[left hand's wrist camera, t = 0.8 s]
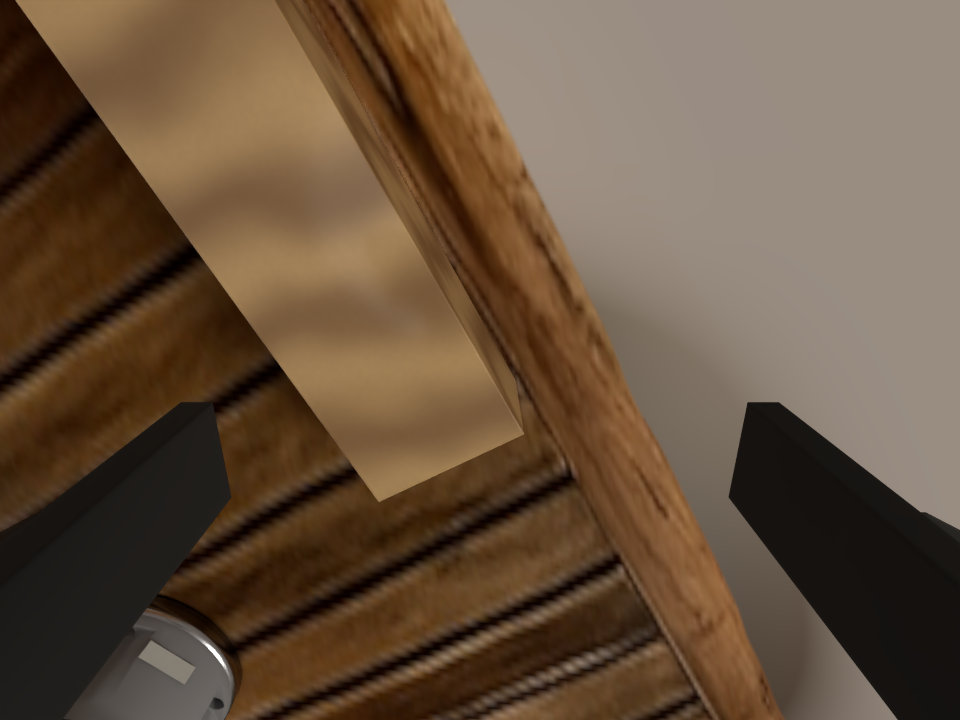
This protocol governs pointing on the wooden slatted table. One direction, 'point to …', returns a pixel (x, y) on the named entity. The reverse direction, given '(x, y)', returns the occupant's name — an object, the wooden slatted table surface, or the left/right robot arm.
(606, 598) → the wooden slatted table surface
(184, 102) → the long beam
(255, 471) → the wooden slatted table surface
